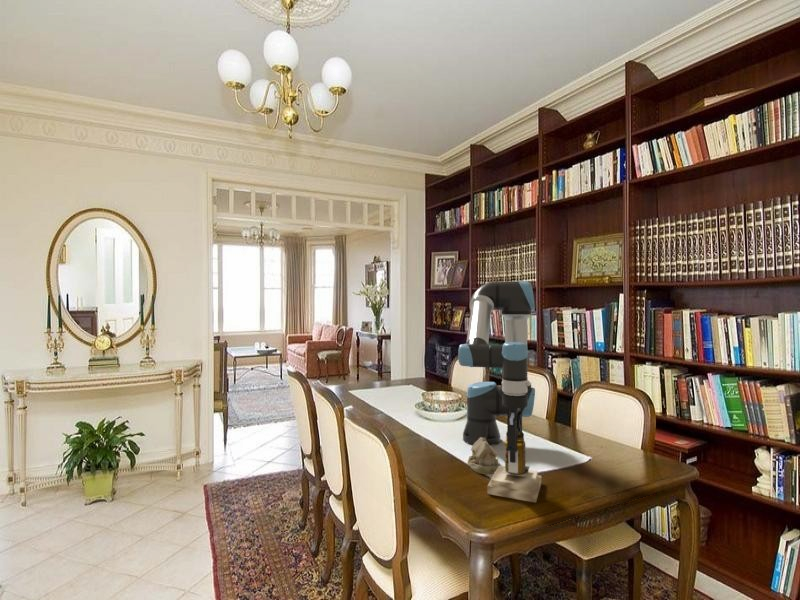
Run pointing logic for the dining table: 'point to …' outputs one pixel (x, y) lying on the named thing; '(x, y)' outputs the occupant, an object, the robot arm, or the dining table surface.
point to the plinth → (515, 492)
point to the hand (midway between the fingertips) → (515, 467)
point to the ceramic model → (483, 457)
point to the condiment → (521, 457)
